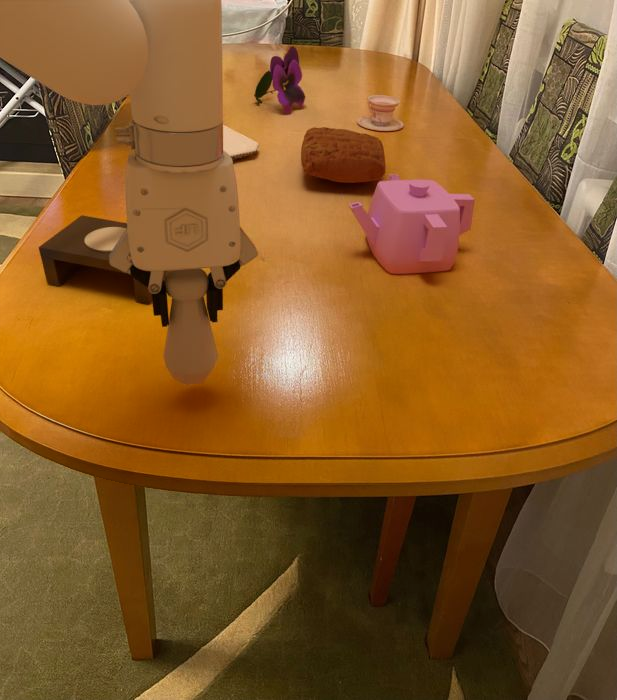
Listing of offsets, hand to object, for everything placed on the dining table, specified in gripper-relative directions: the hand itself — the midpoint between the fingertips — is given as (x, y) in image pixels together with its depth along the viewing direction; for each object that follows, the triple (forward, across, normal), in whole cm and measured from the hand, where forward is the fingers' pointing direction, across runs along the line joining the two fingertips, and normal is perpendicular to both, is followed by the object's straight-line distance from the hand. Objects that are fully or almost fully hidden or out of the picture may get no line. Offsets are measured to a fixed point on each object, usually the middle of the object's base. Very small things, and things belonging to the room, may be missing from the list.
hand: (188, 315), depth 63 cm
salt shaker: (+8, 0, 0) cm, 8 cm away
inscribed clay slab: (+11, +38, +63) cm, 74 cm away
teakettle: (+11, +38, +29) cm, 49 cm away
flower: (+10, +35, +112) cm, 118 cm away
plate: (+11, +11, +81) cm, 82 cm away
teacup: (+10, +59, +95) cm, 112 cm away
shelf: (+12, -8, +29) cm, 33 cm away
